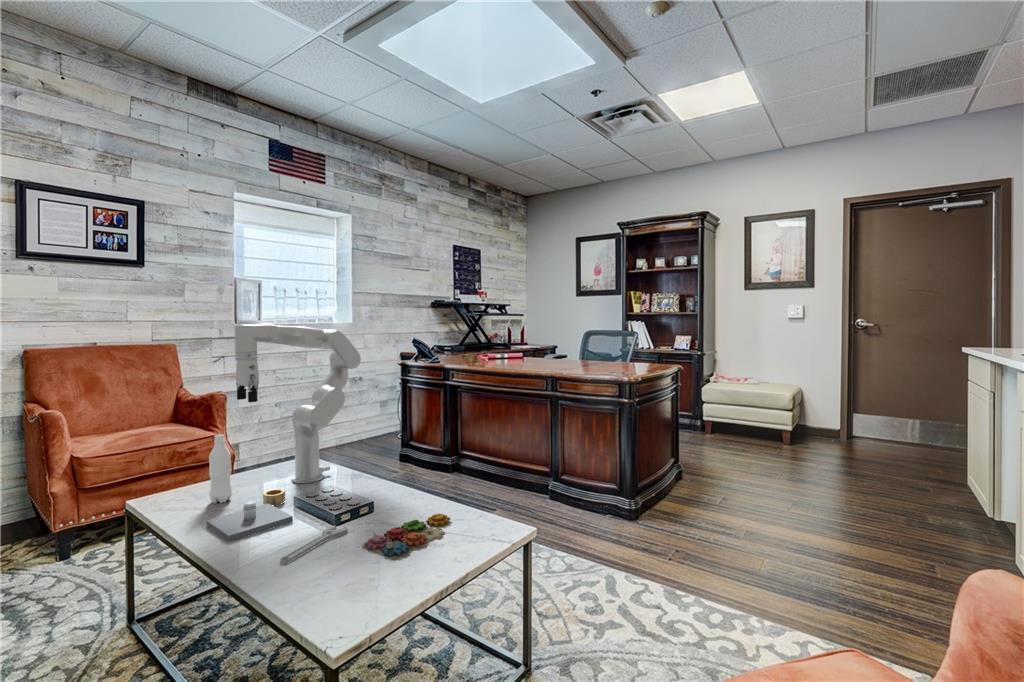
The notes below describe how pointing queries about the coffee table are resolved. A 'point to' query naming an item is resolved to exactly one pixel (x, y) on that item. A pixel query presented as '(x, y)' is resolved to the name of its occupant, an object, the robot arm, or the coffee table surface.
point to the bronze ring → (274, 497)
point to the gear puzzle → (407, 537)
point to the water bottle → (220, 471)
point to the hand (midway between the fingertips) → (247, 400)
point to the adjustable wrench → (314, 543)
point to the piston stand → (248, 521)
